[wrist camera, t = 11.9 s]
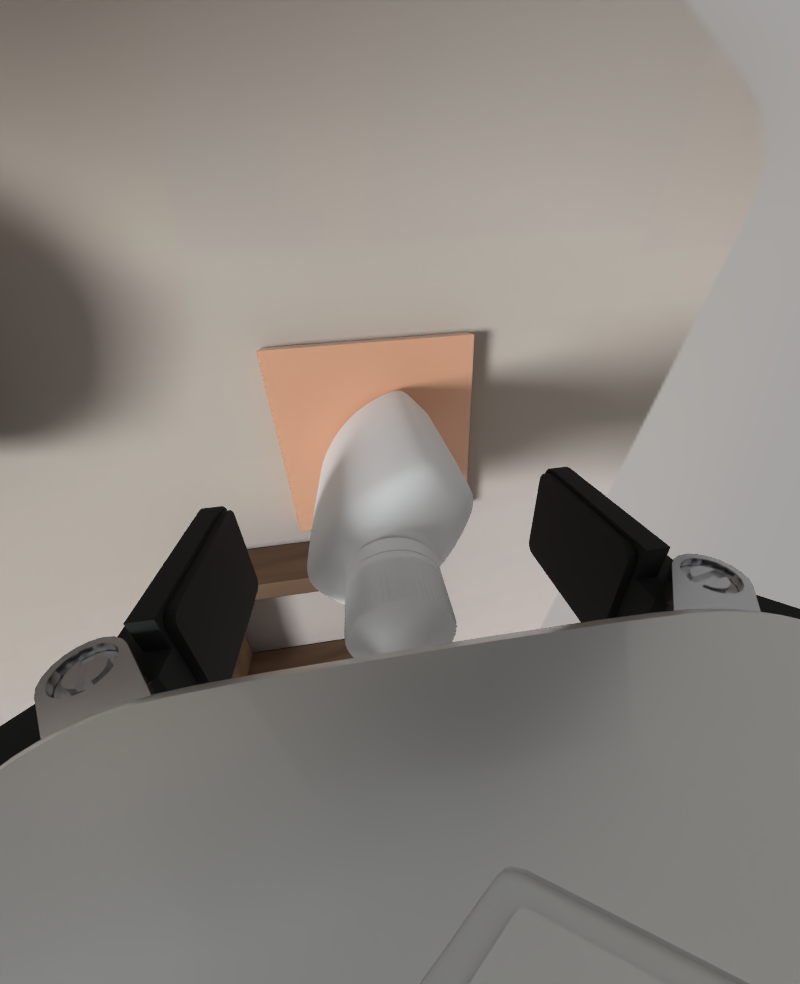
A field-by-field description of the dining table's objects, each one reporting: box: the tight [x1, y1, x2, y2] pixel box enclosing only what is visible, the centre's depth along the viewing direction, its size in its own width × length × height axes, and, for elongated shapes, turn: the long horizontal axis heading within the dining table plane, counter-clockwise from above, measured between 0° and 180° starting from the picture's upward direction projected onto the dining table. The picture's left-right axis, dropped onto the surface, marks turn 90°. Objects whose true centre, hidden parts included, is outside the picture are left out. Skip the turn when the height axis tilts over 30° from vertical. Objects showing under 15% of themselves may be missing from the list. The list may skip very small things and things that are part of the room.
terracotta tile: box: [256, 332, 474, 531], centre depth 17 cm, size 9×9×1 cm
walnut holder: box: [232, 542, 354, 678], centre depth 21 cm, size 10×10×3 cm
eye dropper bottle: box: [307, 391, 473, 658], centre depth 11 cm, size 4×6×12 cm
